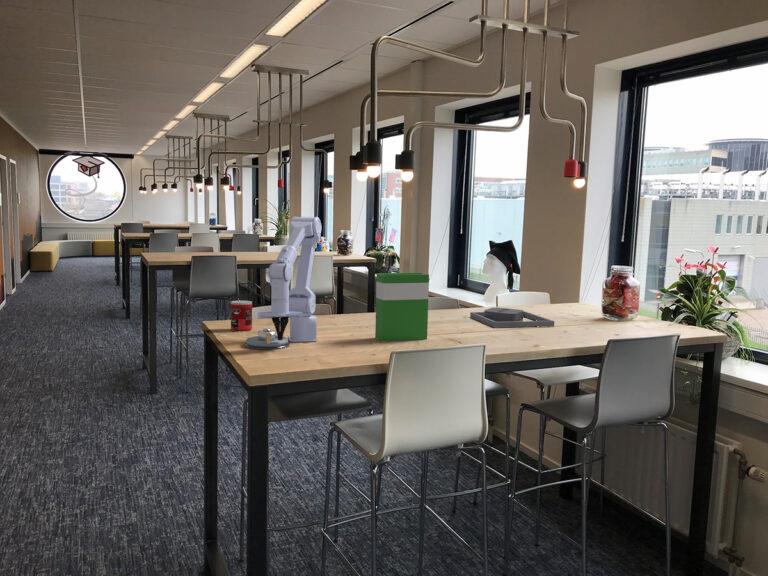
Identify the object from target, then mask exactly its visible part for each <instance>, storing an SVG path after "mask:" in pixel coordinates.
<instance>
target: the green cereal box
mask: <svg viewBox="0 0 768 576" xmlns="http://www.w3.org/2000/svg"><path fill="white" fill-rule="evenodd" d="M375 287H376V289H375V290H376V291H375V293H376V294H375V331H374V332H375V333H374V334H375V339H376V338H377V339H376V340H378V339H379V340H378V341H380V340H381V341H380V342H382V341H387V342H402V341H403V342H405V341H419V340H420V341H421V340H422V341H423V340H428V327H429V326H428V324H429V322H428V321H429V294H430V293H429V291H430V290H429V289H430V288H429V287H430V274H429V273H428V274H424V273H422V272H379V273H378V272H376V286H375Z"/></svg>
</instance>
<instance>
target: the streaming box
mask: <svg viewBox="0 0 768 576" xmlns="http://www.w3.org/2000/svg"><path fill="white" fill-rule="evenodd" d="M523 311H524V310H523V309H518V308H506V307H490V308H488V309H487V308H486V309H484V311H483V312H484V317H486V318H488V319H490V320H493V321H495V322H514V321H524V317H523Z"/></svg>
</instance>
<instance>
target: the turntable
mask: <svg viewBox="0 0 768 576" xmlns="http://www.w3.org/2000/svg"><path fill="white" fill-rule="evenodd" d="M288 342H289V339H288V337H285V336H283V339H282V340H278V337H277V335H276V340H274V341H270V334H269V333H266V341H259V340H258V335H257V336H256V335H255V336H250V337H248V338H246V340H245V343H246V344H247V345H249V346H254V347H277V346H283V345H286V344H288Z"/></svg>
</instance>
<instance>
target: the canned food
mask: <svg viewBox="0 0 768 576" xmlns="http://www.w3.org/2000/svg"><path fill="white" fill-rule="evenodd" d="M252 328H253V301H251V300H233V301H230V330H231V331H232V330H233V331H232V332H235V331H246V332H250V330H251V331H252V330H253V329H252Z"/></svg>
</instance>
